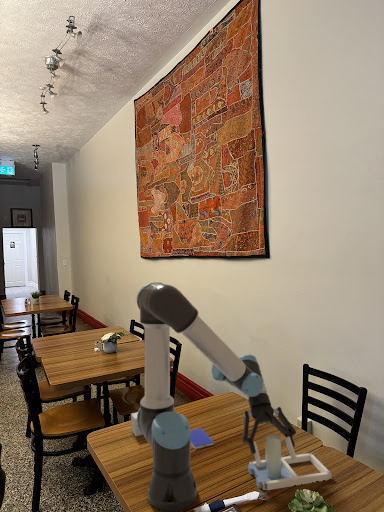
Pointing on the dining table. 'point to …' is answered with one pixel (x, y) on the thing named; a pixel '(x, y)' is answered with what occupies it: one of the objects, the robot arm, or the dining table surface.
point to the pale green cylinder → (273, 456)
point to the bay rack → (288, 473)
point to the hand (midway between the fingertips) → (276, 461)
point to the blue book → (200, 438)
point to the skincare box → (135, 425)
